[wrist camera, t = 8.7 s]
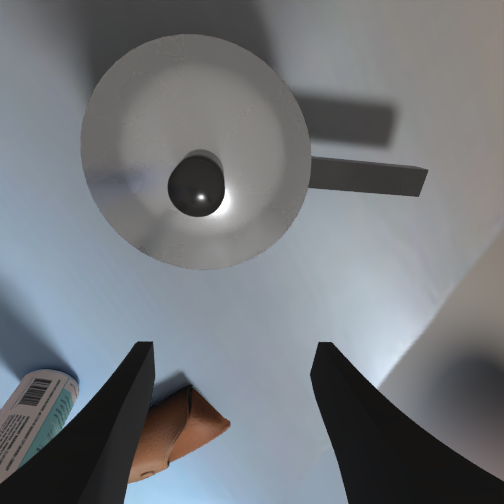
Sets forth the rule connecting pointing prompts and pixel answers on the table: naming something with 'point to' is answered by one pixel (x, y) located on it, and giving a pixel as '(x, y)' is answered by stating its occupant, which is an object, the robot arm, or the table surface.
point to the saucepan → (366, 177)
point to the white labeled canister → (34, 416)
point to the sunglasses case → (175, 432)
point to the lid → (196, 151)
